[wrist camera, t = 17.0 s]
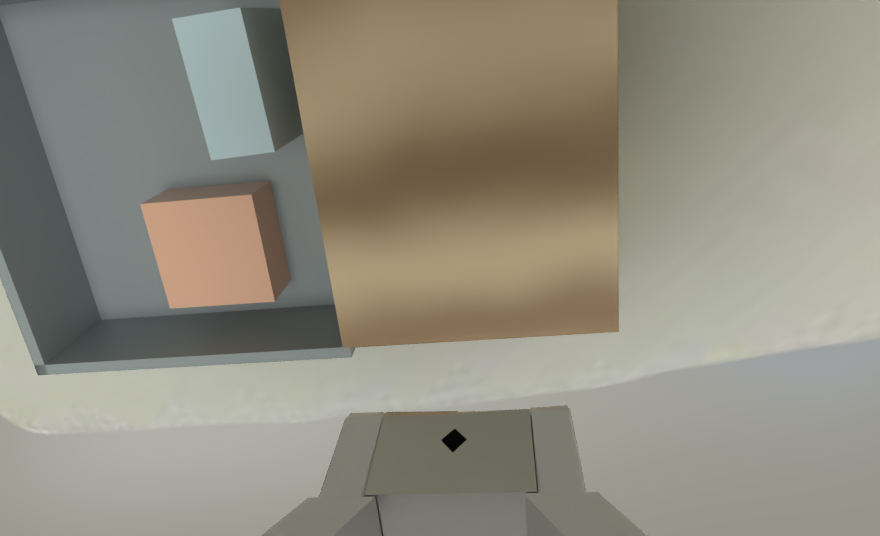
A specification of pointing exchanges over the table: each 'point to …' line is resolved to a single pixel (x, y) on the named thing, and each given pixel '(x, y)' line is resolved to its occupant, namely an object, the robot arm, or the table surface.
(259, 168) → the tray
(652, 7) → the table surface
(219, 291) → the tile terracotta
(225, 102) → the tile blue
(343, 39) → the wooden block
